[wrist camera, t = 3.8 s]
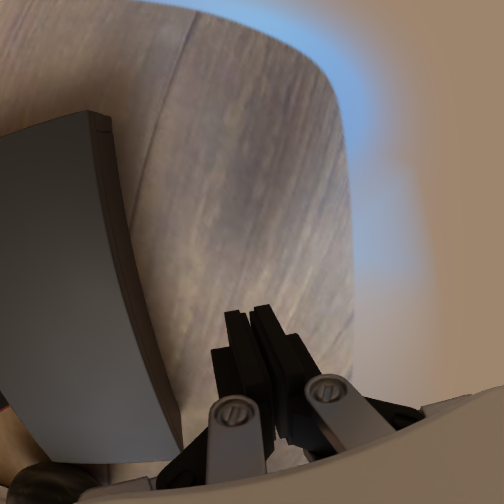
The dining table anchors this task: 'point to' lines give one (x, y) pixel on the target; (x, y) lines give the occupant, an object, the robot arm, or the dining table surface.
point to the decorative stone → (49, 484)
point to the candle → (3, 494)
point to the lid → (77, 302)
